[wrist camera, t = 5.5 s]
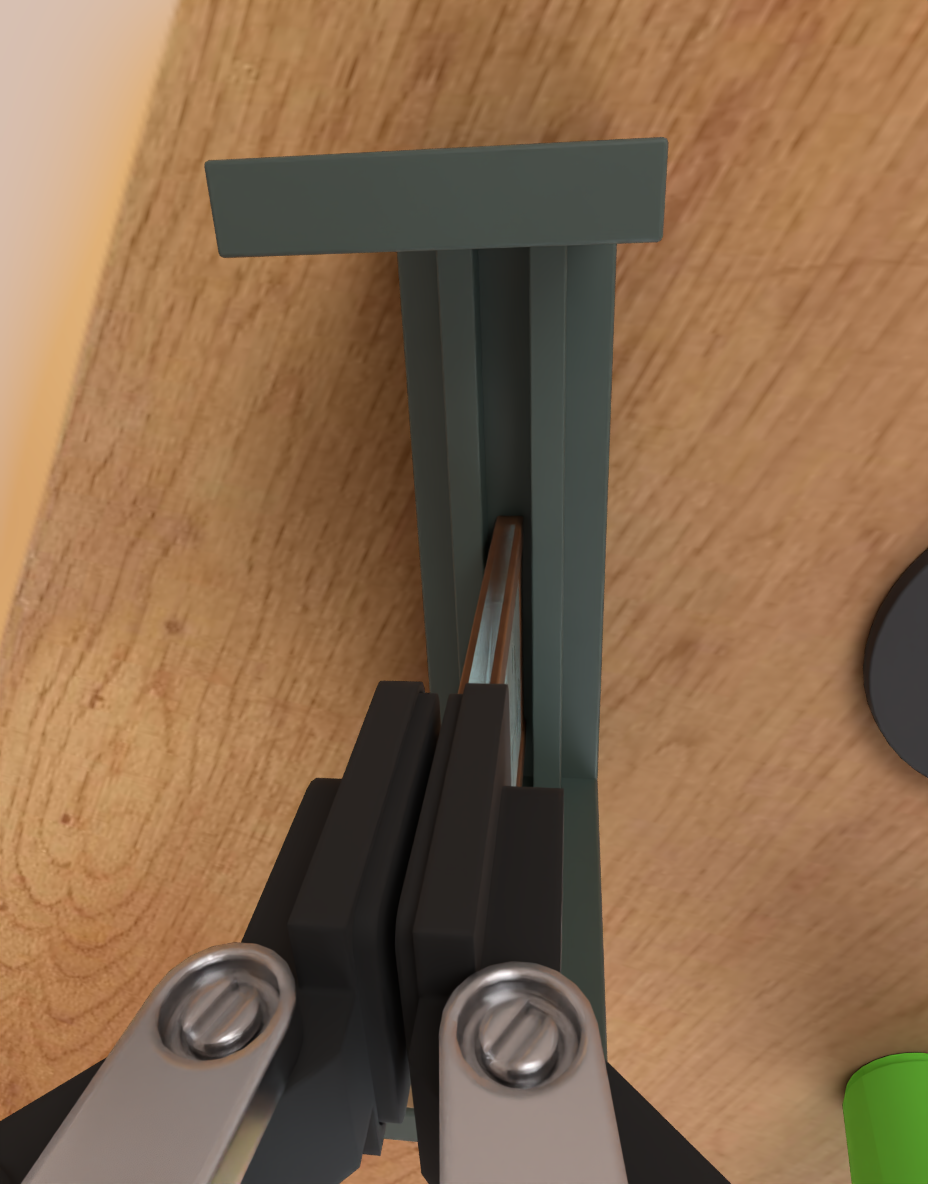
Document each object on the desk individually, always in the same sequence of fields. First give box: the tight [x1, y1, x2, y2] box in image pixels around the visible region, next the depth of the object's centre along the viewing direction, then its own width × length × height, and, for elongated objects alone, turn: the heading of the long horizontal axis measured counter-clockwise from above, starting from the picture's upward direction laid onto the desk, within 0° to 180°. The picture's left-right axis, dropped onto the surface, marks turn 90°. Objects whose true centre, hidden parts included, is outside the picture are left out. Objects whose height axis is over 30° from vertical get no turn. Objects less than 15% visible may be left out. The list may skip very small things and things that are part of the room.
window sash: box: [407, 516, 526, 1108], centre depth 17 cm, size 7×1×14 cm, turn 3°
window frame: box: [205, 137, 668, 1142], centre depth 18 cm, size 18×5×12 cm, turn 3°
